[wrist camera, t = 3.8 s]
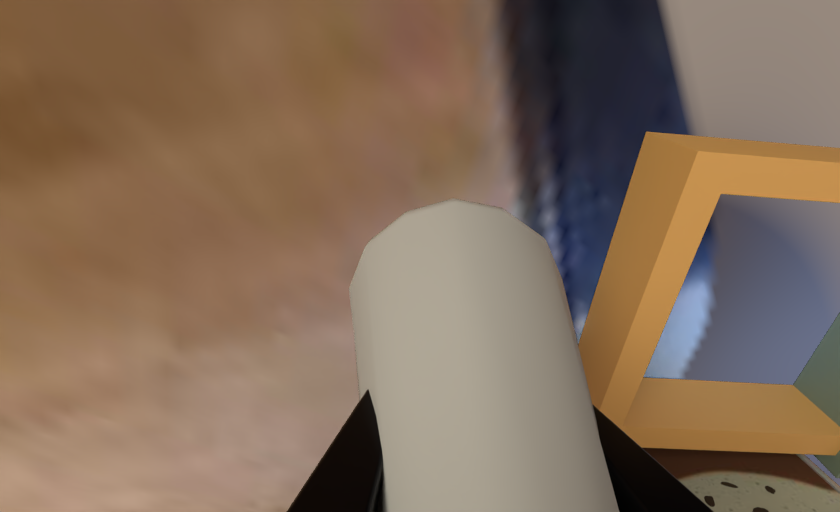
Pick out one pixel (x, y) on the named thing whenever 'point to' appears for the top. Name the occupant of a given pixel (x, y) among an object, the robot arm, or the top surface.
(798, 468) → the food container
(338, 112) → the top surface
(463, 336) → the salt shaker
